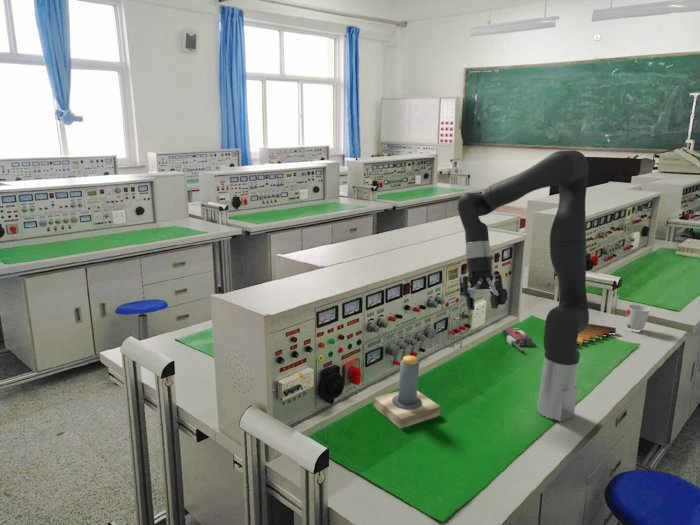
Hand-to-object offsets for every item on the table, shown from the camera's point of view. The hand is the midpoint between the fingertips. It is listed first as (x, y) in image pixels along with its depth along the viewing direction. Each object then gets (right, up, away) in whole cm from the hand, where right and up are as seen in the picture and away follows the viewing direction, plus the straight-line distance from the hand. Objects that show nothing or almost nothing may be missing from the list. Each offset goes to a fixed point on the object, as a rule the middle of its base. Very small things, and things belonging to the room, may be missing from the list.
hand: (483, 309), depth 167 cm
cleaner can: (-25, -25, -11) cm, 37 cm away
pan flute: (+51, -17, +49) cm, 73 cm away
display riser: (-25, -29, -11) cm, 39 cm away
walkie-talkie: (+24, -17, +42) cm, 51 cm away
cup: (+78, -14, +60) cm, 99 cm away
